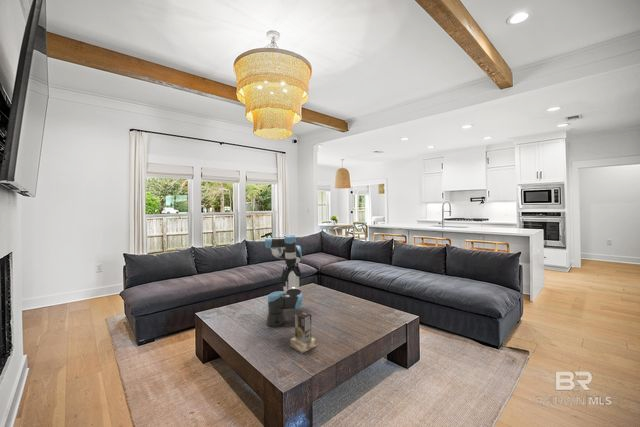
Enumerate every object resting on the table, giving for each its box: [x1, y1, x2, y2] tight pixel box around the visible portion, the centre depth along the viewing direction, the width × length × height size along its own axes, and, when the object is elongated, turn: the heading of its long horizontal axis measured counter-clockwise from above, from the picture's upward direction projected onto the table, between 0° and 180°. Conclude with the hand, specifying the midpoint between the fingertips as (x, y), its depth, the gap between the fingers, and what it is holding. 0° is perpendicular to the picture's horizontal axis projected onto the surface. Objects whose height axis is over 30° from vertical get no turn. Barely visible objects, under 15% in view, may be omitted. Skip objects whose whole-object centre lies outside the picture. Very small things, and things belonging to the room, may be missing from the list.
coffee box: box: [294, 310, 312, 342], centre depth 182 cm, size 9×6×16 cm
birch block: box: [289, 336, 317, 354], centre depth 182 cm, size 12×12×5 cm
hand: (291, 288), depth 197 cm, fingers open, 13 cm apart
